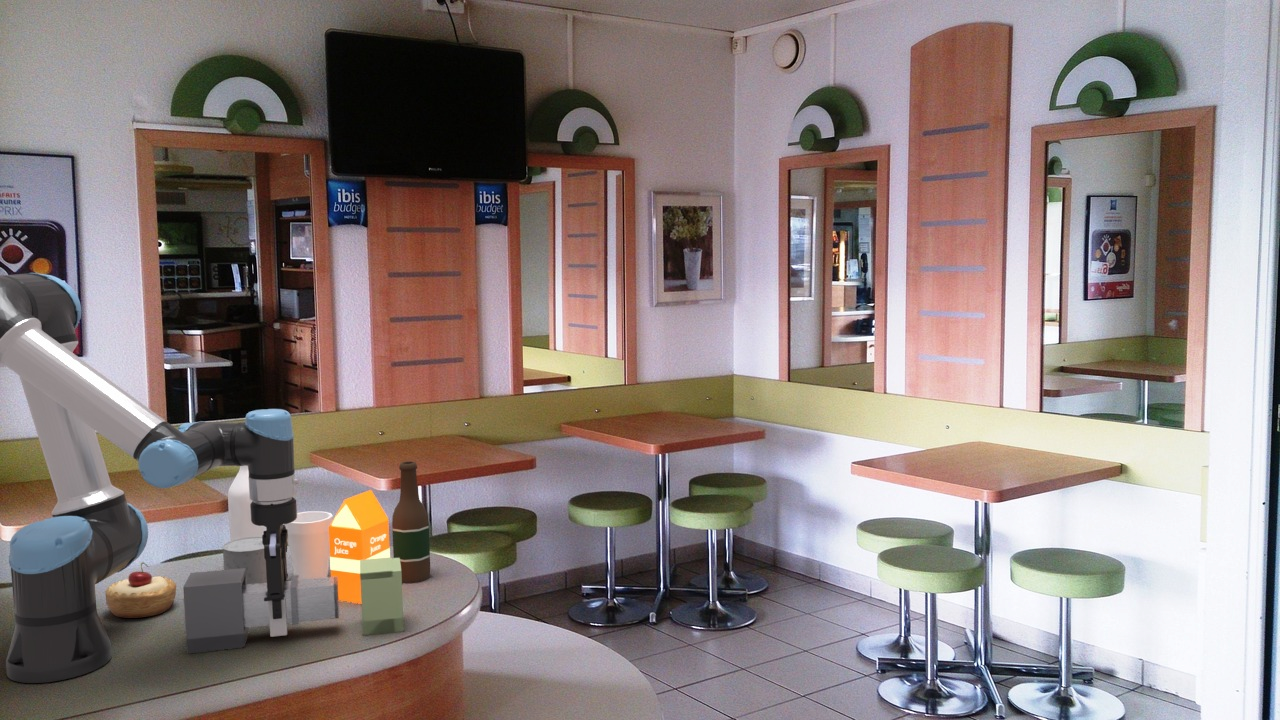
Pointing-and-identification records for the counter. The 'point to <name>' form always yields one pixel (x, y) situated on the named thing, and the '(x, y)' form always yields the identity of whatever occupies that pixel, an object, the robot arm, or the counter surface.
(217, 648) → the sleeve
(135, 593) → the pastry
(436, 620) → the counter surface
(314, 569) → the foam cup
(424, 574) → the beer bottle
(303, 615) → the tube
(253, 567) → the gray cylinder
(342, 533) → the orange juice
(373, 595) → the socket
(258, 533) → the bottle
